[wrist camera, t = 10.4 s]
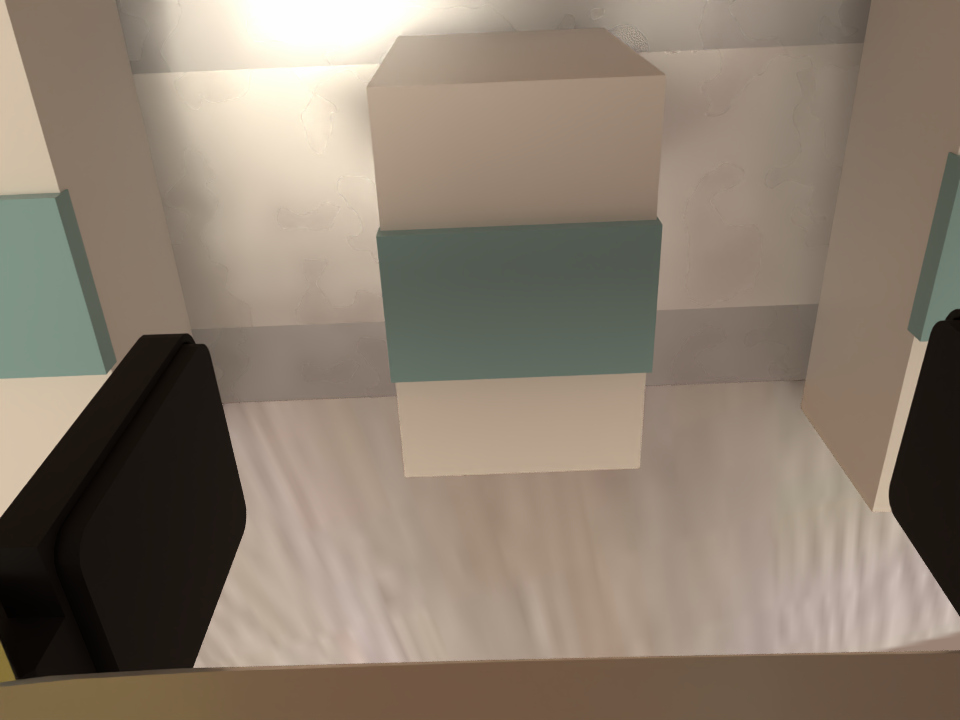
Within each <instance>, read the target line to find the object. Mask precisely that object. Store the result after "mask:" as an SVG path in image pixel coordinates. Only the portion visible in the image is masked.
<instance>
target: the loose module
mask: <svg viewBox="0 0 960 720" xmlns="http://www.w3.org/2000/svg"><path fill="white" fill-rule="evenodd" d="M665 87H666V75H665V74H664V73H663V72H661V71H660V70H659V69H658V68H656V67H655V66H654V65H652V64H651V63H650V62H648V61H647V60H646V59H644V58H643V57H642V56H640V55H639V54H638V53H637V52H635V51H634V50H633V49H631V48H630V47H629V46H627V45H626V44H625V43H623V42H622V41H621V40H619V39H618V38H617V37H616V36H614V35H613V34H612V33H610V32H609V31H608V30H606V29H605V28H587V29H563V30H539V31H515V32H491V33H467V34H443V35H419V36H398V37H397V39H396V40H395V42H394V43H393V45H392V47H391V48H390V50H389V52H388V53H387V55H386V56H385V58H384V60H383V61H382V63H381V65H380V66H379V68H378V69H377V71H376V73H375V74H374V76H373V77H372V79H371V81H370V82H369V84H368V86H367V87H366V90H367V100H368V110H369V120H370V130H371V140H372V150H373V161H374V171H375V181H376V191H377V201H378V211H379V221H380V227H379V228H378V232H377V235H376V240H377V250H378V260H379V270H380V279H381V289H382V299H383V309H384V318H385V328H386V338H387V348H388V357H389V367H390V377H391V383H396V391H397V402H398V412H399V422H400V432H401V442H402V452H403V462H404V472H405V477H427V476H453V475H479V474H505V473H531V472H557V471H583V470H609V469H635V468H640V456H641V441H642V427H643V412H644V397H645V382H646V373H652V368H653V354H654V340H655V327H656V313H657V299H658V285H659V271H660V257H661V243H662V229H663V225H662V223H661V222H660V220H659V218H658V217H657V205H658V190H659V176H660V161H661V146H662V131H663V116H664V102H665Z"/></svg>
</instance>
